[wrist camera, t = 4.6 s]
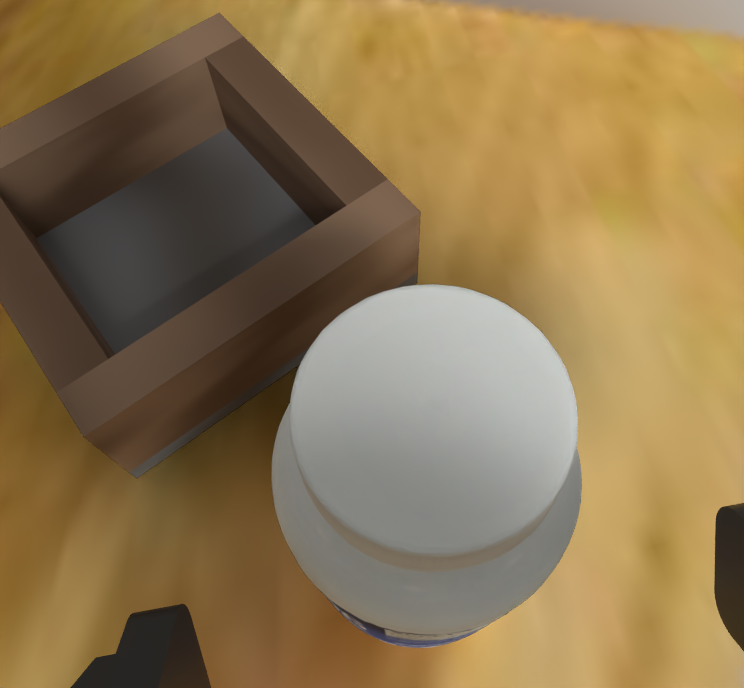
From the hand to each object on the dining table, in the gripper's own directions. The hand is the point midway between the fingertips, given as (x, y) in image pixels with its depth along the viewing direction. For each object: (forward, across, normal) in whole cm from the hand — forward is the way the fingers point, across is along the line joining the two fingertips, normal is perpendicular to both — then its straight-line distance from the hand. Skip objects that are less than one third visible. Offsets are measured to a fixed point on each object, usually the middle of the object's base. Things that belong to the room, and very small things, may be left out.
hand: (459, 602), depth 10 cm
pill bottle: (+7, 0, +4) cm, 8 cm away
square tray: (+14, +5, -3) cm, 15 cm away
